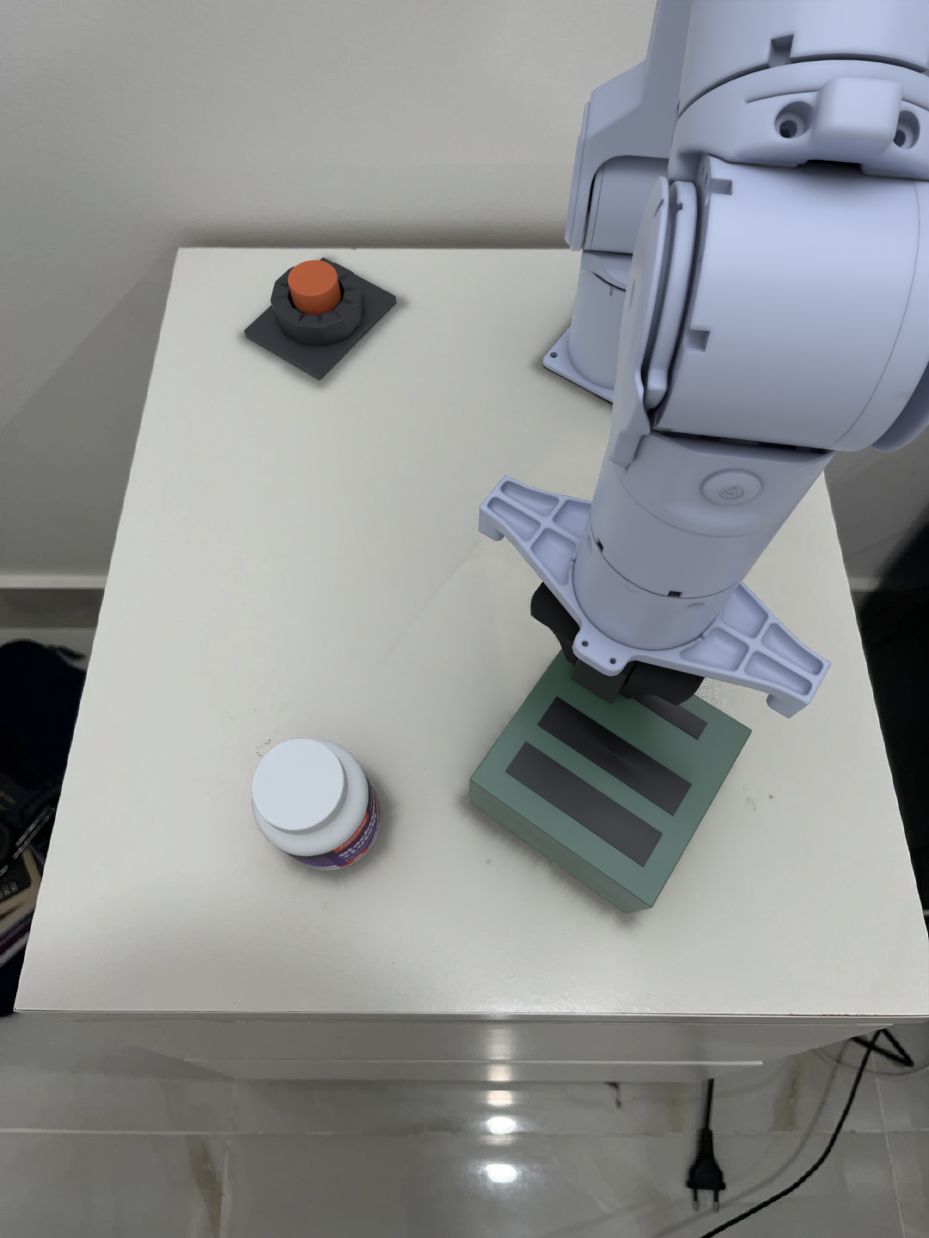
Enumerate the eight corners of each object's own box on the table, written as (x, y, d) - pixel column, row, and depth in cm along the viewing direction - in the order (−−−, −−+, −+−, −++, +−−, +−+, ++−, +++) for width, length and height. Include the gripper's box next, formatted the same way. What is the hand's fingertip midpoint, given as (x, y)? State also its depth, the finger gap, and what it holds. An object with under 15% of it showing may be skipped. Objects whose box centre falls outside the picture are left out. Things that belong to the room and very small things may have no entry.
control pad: (324, 264, 58) (318, 236, 56) (397, 303, 57) (394, 276, 54) (245, 337, 55) (236, 311, 53) (319, 381, 54) (313, 355, 51)
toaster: (565, 662, 45) (579, 621, 39) (716, 758, 43) (754, 729, 37) (468, 802, 42) (469, 778, 36) (626, 914, 39) (652, 908, 34)
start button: (313, 273, 55) (309, 252, 53) (350, 293, 54) (347, 273, 53) (283, 301, 54) (277, 282, 52) (320, 322, 53) (315, 303, 51)
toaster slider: (601, 633, 39) (614, 599, 35) (641, 658, 38) (659, 627, 35) (570, 678, 38) (580, 648, 34) (611, 704, 37) (627, 677, 34)
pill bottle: (369, 880, 40) (340, 860, 31) (271, 859, 41) (216, 833, 32) (393, 780, 42) (373, 734, 33) (300, 761, 43) (256, 711, 34)
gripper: (429, 499, 26) (441, 647, 38) (827, 740, 22) (699, 816, 35) (542, 366, 28) (519, 546, 40) (918, 566, 25) (767, 696, 37)
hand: (607, 664), depth 38 cm, fingers closed on toaster slider, 2 cm apart
